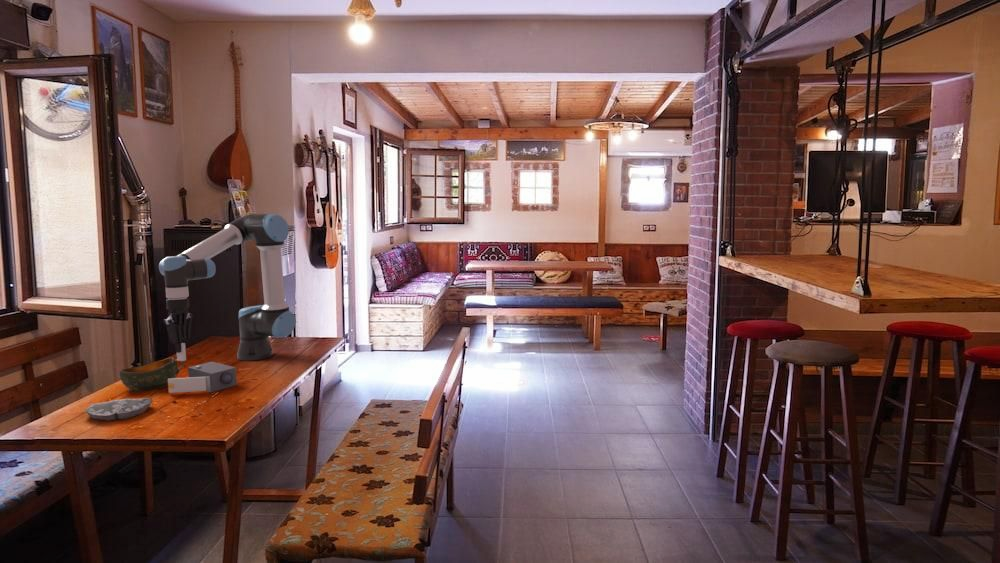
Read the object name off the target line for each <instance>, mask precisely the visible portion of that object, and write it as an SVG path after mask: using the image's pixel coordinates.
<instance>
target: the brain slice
mask: <svg viewBox="0 0 1000 563" xmlns="http://www.w3.org/2000/svg"><path fill="white" fill-rule="evenodd" d="M153 401H154V400H153V398H152V397H151V398H150V397H146V398H145V397H144V398H123V399H115V400H109V401H103V402H98V403H93V404H91V405H89V406H88V407H87V408H86V409H85V410H84V412H85V413H87V415H88V416H89V417H90V418H92V419H93V420H99V419H101V421H116V420H126V419H131V418H133V417H136V416H139V415H141V414H143V413H145V411H146V410H147V409H149V407H150V406H151V404H152V403H153Z"/></svg>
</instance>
